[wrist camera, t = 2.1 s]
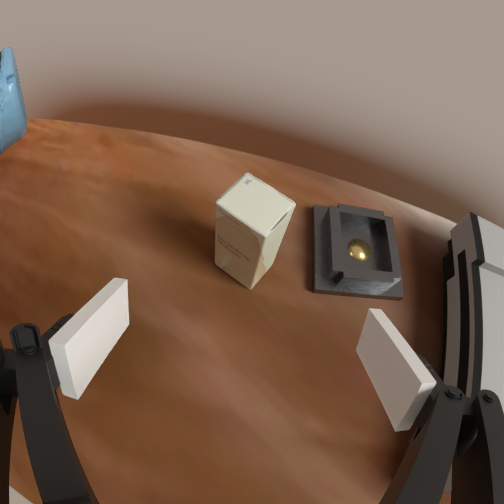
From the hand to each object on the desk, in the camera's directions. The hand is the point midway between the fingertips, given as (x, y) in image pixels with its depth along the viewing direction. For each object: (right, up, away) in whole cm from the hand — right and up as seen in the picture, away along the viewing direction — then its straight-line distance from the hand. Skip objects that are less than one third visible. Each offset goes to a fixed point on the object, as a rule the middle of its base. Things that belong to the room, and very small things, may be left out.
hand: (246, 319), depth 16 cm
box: (-1, +2, +18) cm, 18 cm away
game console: (+32, -12, +14) cm, 37 cm away
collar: (+13, +3, +19) cm, 23 cm away
